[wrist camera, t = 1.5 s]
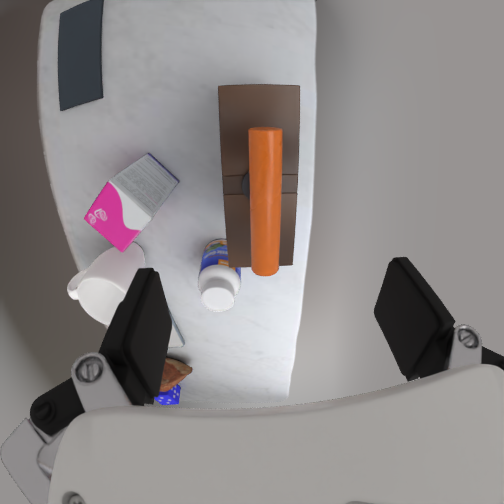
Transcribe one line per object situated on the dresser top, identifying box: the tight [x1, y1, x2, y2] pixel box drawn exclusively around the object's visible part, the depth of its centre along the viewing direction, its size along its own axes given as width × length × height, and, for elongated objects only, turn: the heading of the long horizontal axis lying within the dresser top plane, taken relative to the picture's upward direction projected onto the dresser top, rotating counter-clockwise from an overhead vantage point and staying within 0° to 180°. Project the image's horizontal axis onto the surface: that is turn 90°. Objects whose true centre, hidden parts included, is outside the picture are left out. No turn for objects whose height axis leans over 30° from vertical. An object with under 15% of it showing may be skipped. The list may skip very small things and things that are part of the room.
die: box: [154, 385, 181, 405], centre depth 57 cm, size 5×5×5 cm
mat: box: [58, 0, 104, 111], centre depth 21 cm, size 16×7×1 cm, turn 1°
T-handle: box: [242, 127, 282, 276], centre depth 23 cm, size 10×3×14 cm, turn 1°
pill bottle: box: [198, 239, 241, 312], centre depth 35 cm, size 5×5×10 cm
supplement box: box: [84, 153, 179, 252], centre depth 28 cm, size 6×6×12 cm
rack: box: [218, 84, 300, 268], centre depth 26 cm, size 16×6×12 cm, turn 1°
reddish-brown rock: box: [160, 358, 192, 392], centre depth 51 cm, size 13×8×10 cm
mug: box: [67, 242, 146, 325], centre depth 34 cm, size 12×8×11 cm
